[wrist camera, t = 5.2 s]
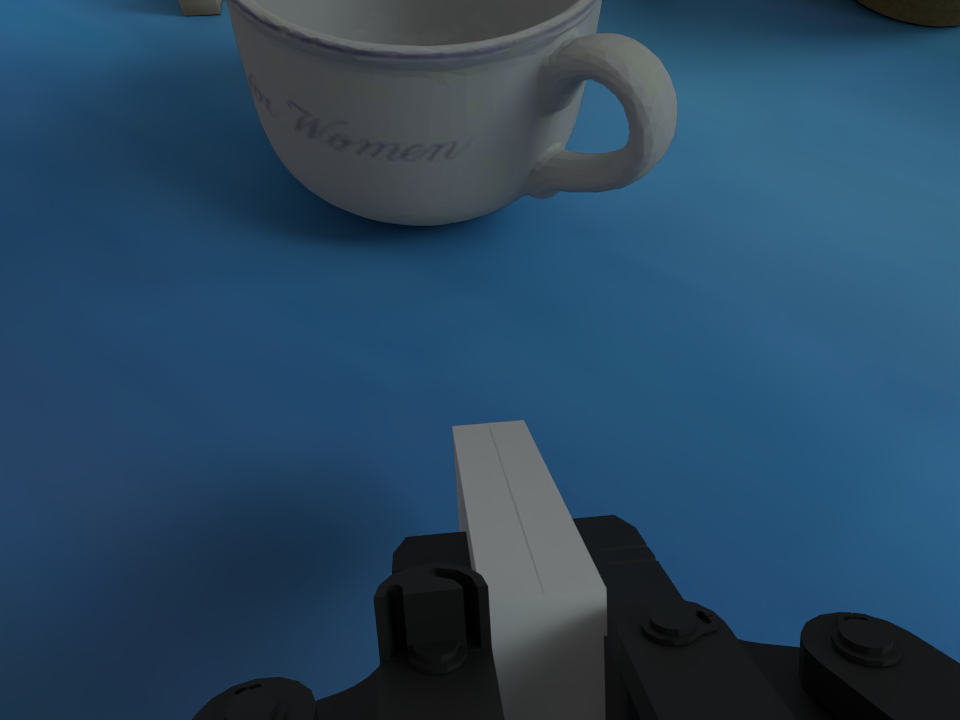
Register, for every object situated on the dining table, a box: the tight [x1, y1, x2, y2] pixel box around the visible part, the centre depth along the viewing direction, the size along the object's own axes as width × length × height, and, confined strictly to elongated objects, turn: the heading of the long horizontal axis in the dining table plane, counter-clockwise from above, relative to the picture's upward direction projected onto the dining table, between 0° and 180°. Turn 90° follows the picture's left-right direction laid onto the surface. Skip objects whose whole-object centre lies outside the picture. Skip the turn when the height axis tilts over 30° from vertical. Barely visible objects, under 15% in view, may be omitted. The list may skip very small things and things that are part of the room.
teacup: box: [226, 0, 677, 226], centre depth 22 cm, size 14×11×8 cm
